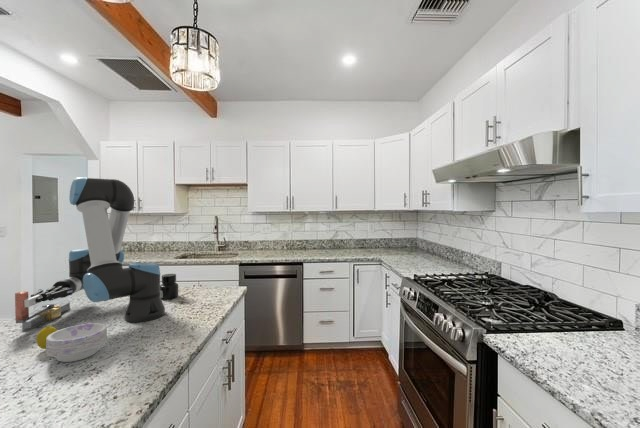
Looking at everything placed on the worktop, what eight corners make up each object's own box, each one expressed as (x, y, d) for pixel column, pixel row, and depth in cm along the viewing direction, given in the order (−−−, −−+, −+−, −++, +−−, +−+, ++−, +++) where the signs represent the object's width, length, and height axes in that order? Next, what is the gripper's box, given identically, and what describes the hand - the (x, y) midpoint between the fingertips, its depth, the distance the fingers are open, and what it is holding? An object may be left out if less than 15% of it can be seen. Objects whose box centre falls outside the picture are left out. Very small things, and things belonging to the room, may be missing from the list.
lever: (25, 323, 113) (24, 293, 113) (12, 324, 112) (11, 294, 112) (56, 306, 132) (55, 281, 132) (45, 307, 131) (44, 281, 131)
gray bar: (73, 308, 142) (73, 299, 142) (35, 328, 118) (35, 318, 118) (58, 309, 141) (58, 300, 141) (17, 329, 117) (17, 319, 117)
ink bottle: (164, 295, 163) (163, 273, 163) (181, 294, 164) (180, 272, 164) (156, 300, 154) (156, 277, 153) (174, 300, 155) (174, 276, 154)
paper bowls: (97, 340, 108) (96, 318, 108) (114, 352, 99) (114, 328, 99) (40, 357, 96) (39, 333, 95) (54, 373, 87) (54, 345, 86)
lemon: (33, 351, 99) (32, 327, 99) (53, 344, 105) (52, 321, 104) (42, 355, 97) (42, 330, 97) (63, 347, 102) (62, 324, 102)
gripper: (83, 294, 137) (46, 312, 114) (50, 296, 135) (6, 314, 112) (82, 278, 137) (46, 292, 114) (49, 279, 135) (5, 294, 112)
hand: (26, 303), depth 113 cm, fingers closed
